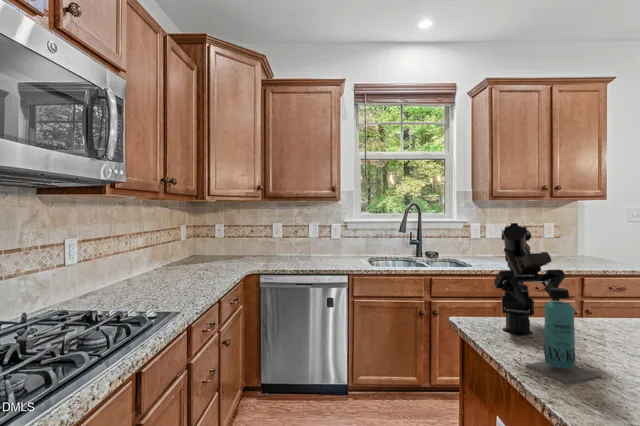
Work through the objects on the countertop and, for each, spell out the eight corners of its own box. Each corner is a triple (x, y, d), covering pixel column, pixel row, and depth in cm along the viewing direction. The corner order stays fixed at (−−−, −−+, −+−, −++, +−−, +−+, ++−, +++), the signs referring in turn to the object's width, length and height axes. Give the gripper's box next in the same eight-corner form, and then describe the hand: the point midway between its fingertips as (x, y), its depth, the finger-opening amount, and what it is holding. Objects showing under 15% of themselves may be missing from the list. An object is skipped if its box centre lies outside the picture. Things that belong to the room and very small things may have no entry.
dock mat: (525, 366, 94) (525, 364, 94) (557, 360, 98) (557, 358, 98) (566, 385, 84) (566, 383, 84) (600, 377, 87) (600, 375, 87)
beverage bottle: (538, 364, 94) (537, 285, 94) (565, 364, 94) (564, 285, 94) (554, 375, 88) (552, 291, 88) (582, 375, 87) (581, 290, 87)
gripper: (498, 243, 108) (519, 288, 97) (561, 242, 108) (589, 286, 97) (486, 266, 116) (504, 310, 105) (544, 265, 116) (569, 309, 105)
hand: (542, 304), depth 103 cm, fingers open, 9 cm apart
